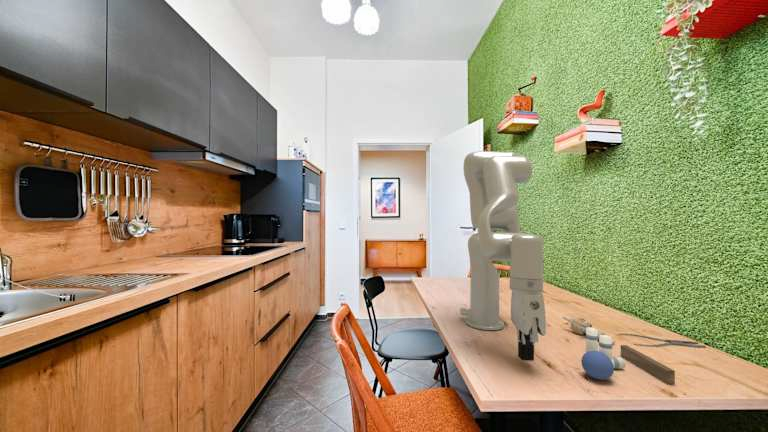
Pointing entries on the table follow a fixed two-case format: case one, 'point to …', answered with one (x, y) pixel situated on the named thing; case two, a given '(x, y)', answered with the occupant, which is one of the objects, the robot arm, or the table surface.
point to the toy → (581, 326)
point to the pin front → (618, 363)
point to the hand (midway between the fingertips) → (526, 358)
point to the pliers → (671, 342)
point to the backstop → (648, 364)
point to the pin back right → (605, 345)
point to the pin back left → (591, 339)
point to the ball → (597, 365)
